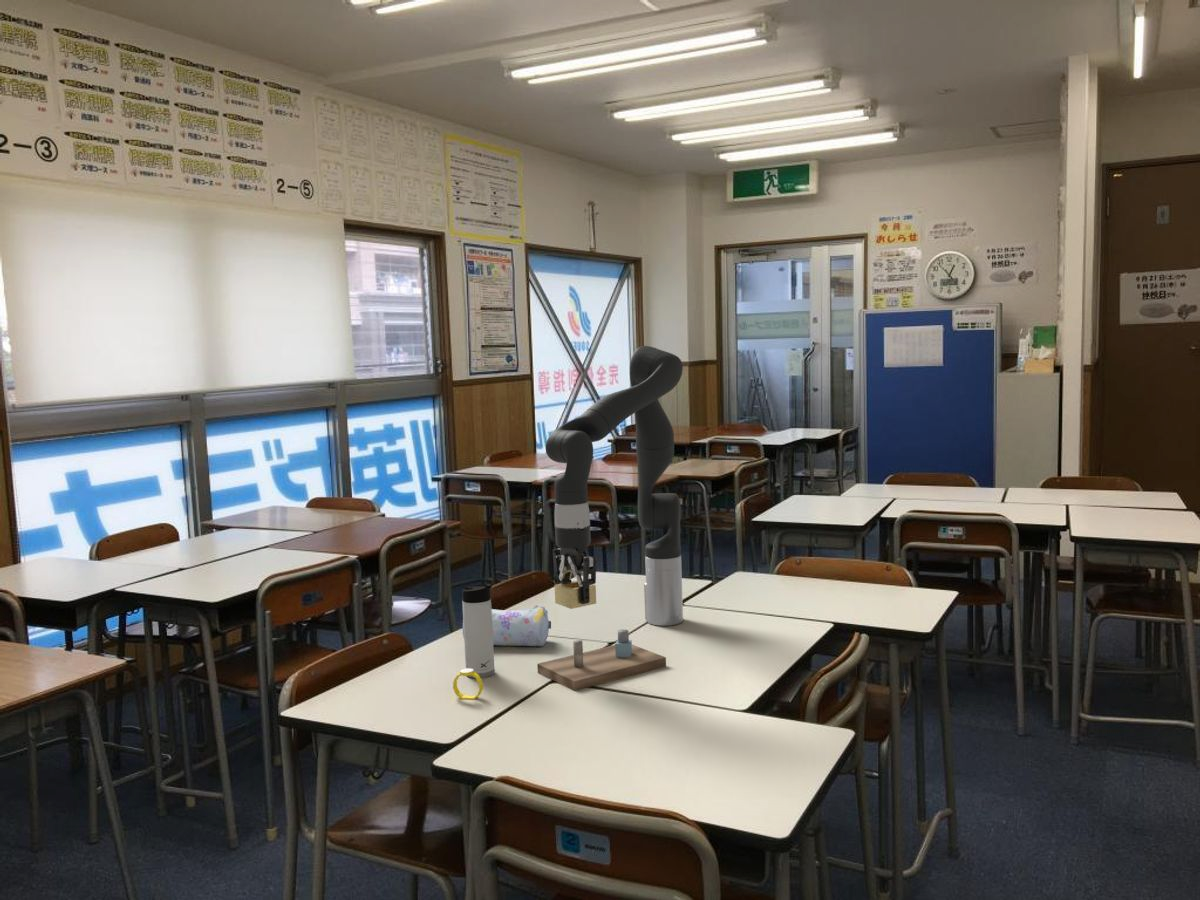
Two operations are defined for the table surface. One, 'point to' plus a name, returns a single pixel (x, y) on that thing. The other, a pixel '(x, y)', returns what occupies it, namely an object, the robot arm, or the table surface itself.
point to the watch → (466, 673)
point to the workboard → (598, 666)
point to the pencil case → (520, 627)
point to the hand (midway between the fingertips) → (575, 599)
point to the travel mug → (478, 629)
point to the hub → (623, 644)
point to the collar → (572, 595)
